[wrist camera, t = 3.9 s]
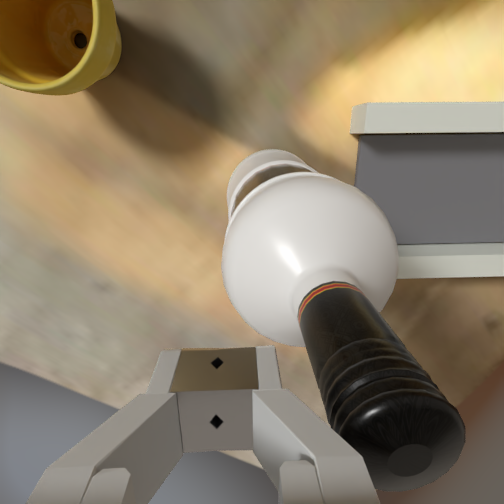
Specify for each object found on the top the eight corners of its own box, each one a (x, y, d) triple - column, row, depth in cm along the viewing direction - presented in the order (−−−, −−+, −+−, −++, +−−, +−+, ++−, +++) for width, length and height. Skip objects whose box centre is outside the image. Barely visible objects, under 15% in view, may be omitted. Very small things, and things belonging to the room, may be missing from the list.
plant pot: (101, 128, 32) (44, 126, 22) (3, 44, 29) (-107, 2, 20) (166, 39, 29) (132, -4, 20) (66, -61, 26) (-26, -165, 17)
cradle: (352, 106, 32) (371, 101, 27) (648, 104, 33) (717, 99, 28) (337, 265, 37) (352, 284, 33) (589, 259, 38) (638, 277, 34)
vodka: (249, 132, 32) (320, 114, 4) (329, 172, 34) (777, 358, 6) (213, 214, 35) (105, 546, 7) (288, 247, 37) (454, 626, 8)
